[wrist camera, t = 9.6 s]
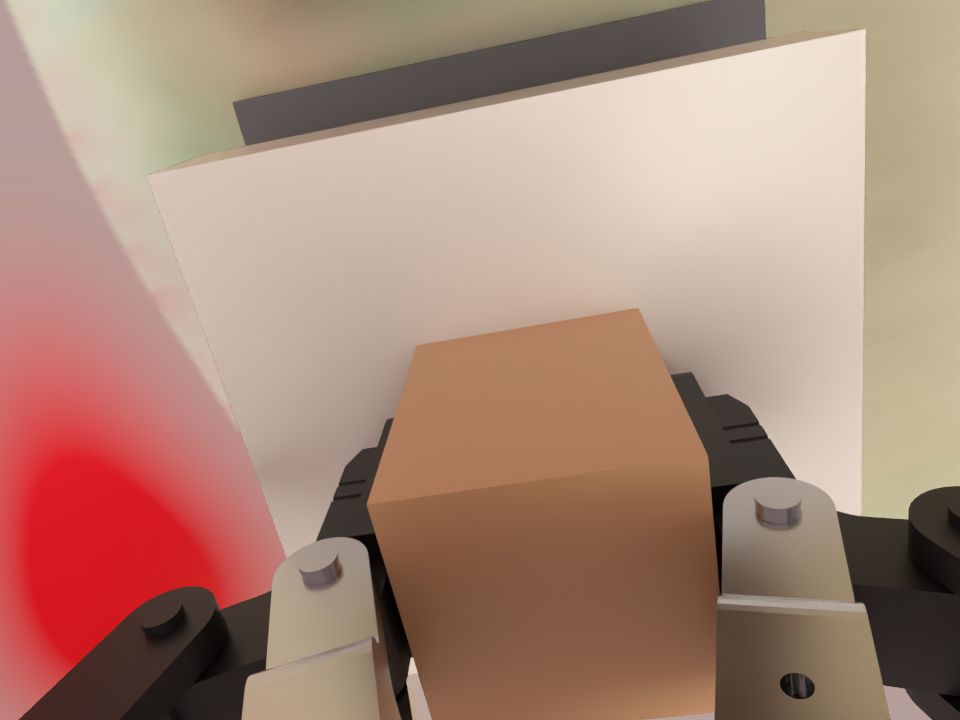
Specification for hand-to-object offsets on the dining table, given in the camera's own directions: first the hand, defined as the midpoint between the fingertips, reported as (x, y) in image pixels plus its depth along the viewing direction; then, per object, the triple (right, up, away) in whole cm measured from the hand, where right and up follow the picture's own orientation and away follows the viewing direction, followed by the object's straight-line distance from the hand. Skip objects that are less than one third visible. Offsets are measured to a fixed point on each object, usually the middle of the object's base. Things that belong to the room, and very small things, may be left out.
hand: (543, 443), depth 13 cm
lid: (0, +1, +3) cm, 3 cm away
